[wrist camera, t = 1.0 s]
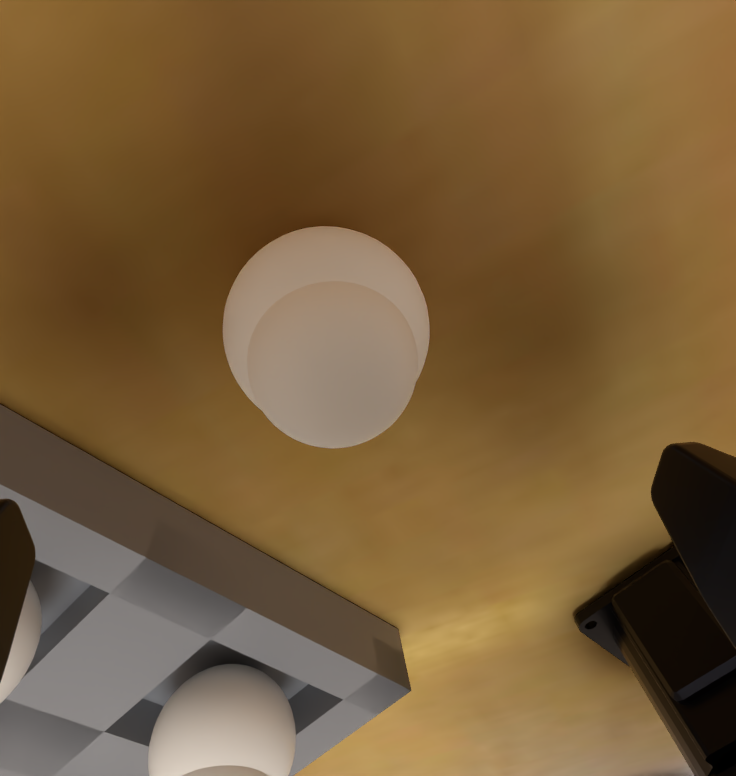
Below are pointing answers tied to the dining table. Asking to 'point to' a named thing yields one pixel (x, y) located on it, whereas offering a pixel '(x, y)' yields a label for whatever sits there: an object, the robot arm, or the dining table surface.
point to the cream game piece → (327, 335)
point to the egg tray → (169, 636)
